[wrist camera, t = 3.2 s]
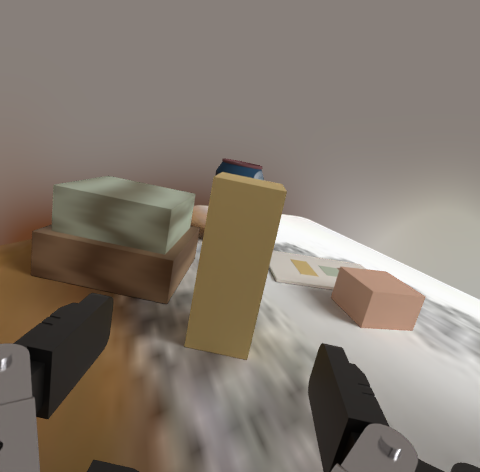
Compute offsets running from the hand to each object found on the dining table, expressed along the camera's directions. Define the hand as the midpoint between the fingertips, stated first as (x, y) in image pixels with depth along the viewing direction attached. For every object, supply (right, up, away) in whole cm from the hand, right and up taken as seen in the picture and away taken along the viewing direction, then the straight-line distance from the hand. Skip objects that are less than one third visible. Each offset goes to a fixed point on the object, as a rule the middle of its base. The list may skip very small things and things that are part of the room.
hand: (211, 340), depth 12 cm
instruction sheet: (+12, -1, +32) cm, 34 cm away
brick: (+15, -4, +22) cm, 27 cm away
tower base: (-11, +1, +21) cm, 24 cm away
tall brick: (-1, -4, +13) cm, 13 cm away
